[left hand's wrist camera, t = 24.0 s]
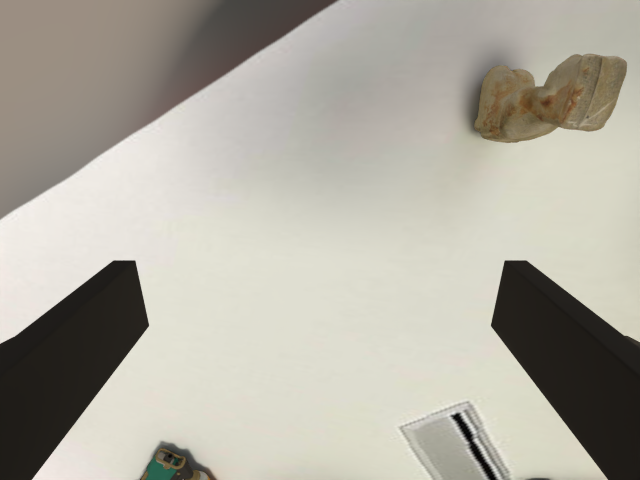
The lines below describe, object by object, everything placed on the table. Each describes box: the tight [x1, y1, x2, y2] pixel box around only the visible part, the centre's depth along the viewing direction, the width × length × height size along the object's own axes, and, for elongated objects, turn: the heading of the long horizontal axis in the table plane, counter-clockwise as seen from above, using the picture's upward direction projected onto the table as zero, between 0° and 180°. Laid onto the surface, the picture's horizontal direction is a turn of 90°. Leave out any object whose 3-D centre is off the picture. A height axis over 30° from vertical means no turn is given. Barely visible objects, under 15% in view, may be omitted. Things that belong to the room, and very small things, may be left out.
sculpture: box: [474, 54, 627, 143], centre depth 31 cm, size 6×7×15 cm
